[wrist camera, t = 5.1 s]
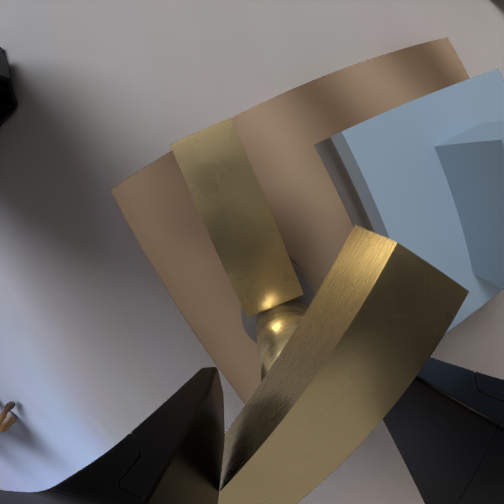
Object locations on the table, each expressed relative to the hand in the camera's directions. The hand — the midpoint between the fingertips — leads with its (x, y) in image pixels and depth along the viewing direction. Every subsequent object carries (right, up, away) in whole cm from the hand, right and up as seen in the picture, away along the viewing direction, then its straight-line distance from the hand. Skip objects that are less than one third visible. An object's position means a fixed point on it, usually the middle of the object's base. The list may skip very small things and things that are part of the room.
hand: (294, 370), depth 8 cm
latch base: (+5, +5, +8) cm, 11 cm away
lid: (+9, +6, +4) cm, 11 cm away
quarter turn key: (-1, +2, +3) cm, 4 cm away
